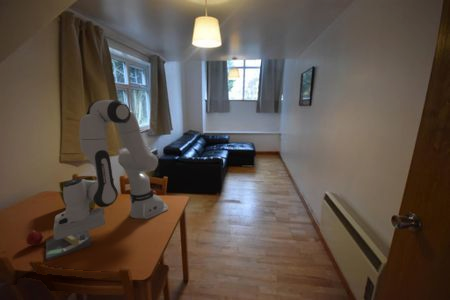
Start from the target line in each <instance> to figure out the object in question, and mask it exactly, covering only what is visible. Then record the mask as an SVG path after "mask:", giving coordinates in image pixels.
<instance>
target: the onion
mask: <svg viewBox="0 0 450 300" xmlns="http://www.w3.org/2000/svg"><path fill="white" fill-rule="evenodd" d="M43 238H44V237H43V234H42V232H40V231H37V230H32V231H31V232H30V233H29V234H28V235H27V237H26V238H25V241H26V244H27V245H28V246H32V247H33V246H34V247H36V246H38V245H39V244H40V243H41V242H42V241H43Z"/></svg>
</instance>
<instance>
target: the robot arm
mask: <svg viewBox="0 0 450 300" xmlns="http://www.w3.org/2000/svg"><path fill="white" fill-rule="evenodd" d="M112 123H114V124H115V125H116V128H117V132H118V135H119V139H120V142H121V145H122V147H124V148H125V149H126V150H124V151H122V152H120V154H119V155H118V158H117V160H118V164H119V165H120V166H121V167H122V169H123V170H124V171H125V173H126V175H127V178H128V181H129V189H130V192H129V199H130V203H131V205H130V213H129V216H130V217H131V218H133V219H144V220H149V219H151V218H153V217H156V216H157V215H160V214H163V213H165V212H166V211H168V210H169V207H168V205H167V203H165V202H164V200H163V199H162V197H161V196H158V195H157V191H156V190H154V189H152V188H151V182H150V177H149V176H148V174H146V173H147V172H153V171H155V170H156V169H157V167H158V164H159V159H158V157H157V156H156V155H155V154H154V153H153V152H152V151H151V150H150V149H149V147H148V146H147V144H146V142H145V141H144V138H143V135H142V132H141V127H140V124H139V122H138V119H137V115H136V114H135V113H134V111H133V110H131V109H130V107H128V105H127V103H125V102H123V101H120V100H113V99H104V100H101V99H99V100H94V101H92V102H91V103H89V105H88V107H87V112H86V114H85V115H83V116H81V118H80V123H79V129H78V134H79V135H78V137H79V146H80V150H81V153H82V154H83V155H84V156H85V157H86V158H87V159H88V160H89V161H90V163H92V165H93V166H94V169H95V174H96V175H95V176H96V179H95V180H85V179H82V178H83V177H77V178H73V179H69V180H70V181H68V180H67V181H68V182H67V183H65V185H64V188H63V195H64V202H65V204H66V206H65V210H64V211H62V212H61V213H60V212H59V213H58V214H56V215H55V217H54V224H53V238H54V239H56V240H58V239H61V238H65V237H68V236H71V235H74V234H75V236H76V237H77V238H79V241H81V240H84V239H86V235H87V233H88V231H90V230H93V229H97V228H100V227H103V226H105V225H106V218H105V208H107V207H110V206H111V205H113V204H114V203H115V202H116V201H117V198H118V195H119V193H118V189H117V187H116V186H115V184H114V178H113V169H112V163H111V158H110V153H109V147H108V134H107V127H108V125H109V124H112ZM92 201H93V202H94V203H95V206H96V205H97V207H98V208H92V209H89V203H90V202H92ZM64 202H63V203H64ZM65 204H64V205H65ZM81 232H85V233H84V235H81V236H80V235H79V233H81Z"/></svg>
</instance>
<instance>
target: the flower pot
mask: <svg viewBox="0 0 450 300" xmlns="http://www.w3.org/2000/svg"><path fill="white" fill-rule="evenodd" d="M81 178H82V179H85V180H96V179H95V178H94V175H93V176H91V175H90V176H85V177H81ZM70 180H71V179H69V180H64V181H59V182H58V183H57V185H58V193H59V194H60V195H59V196H60V198H61V200H62V203H63V204H64V206H65V207H66V204H65V202H64V195H63V188H64V185H65V183H67V182H68V181H70ZM95 206H96V204H95V203H94V202H93V201H92V202H90V203H89V209H90V210H92V209H95Z"/></svg>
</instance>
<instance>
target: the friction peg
mask: <svg viewBox="0 0 450 300" xmlns="http://www.w3.org/2000/svg"><path fill="white" fill-rule="evenodd" d="M62 239H64V240H66V241H68V242H69V243H71V244H72V245H74V246H78V245H79V240H78V239H76V238H75V237H73V236H68V237H65V238H62Z"/></svg>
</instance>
